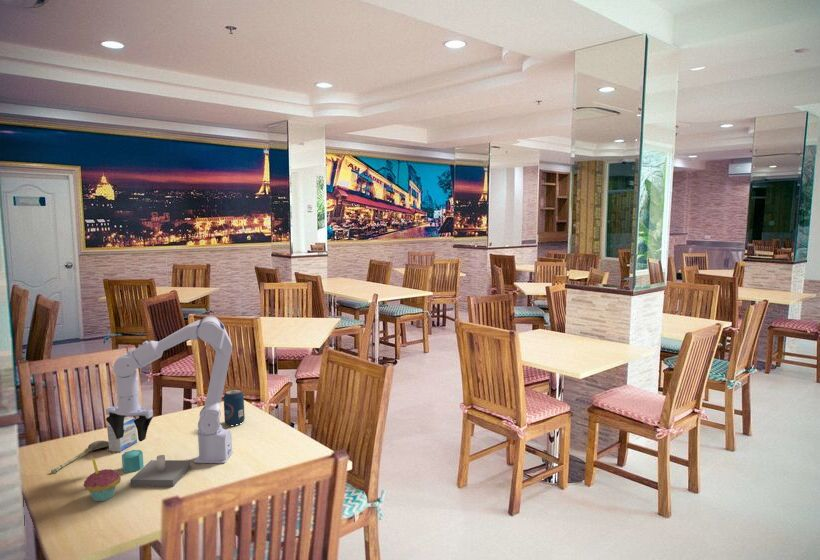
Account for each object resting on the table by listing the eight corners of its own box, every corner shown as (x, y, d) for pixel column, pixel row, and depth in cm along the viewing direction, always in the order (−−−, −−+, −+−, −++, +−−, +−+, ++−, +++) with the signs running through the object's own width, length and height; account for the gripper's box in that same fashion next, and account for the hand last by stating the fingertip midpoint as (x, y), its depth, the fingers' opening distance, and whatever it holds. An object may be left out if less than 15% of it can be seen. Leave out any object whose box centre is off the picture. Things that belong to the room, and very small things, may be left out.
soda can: (220, 424, 196) (219, 392, 195) (235, 418, 202) (234, 387, 201) (233, 428, 193) (232, 395, 191) (248, 421, 199) (247, 390, 197)
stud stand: (191, 466, 164) (189, 447, 163) (173, 486, 152) (172, 466, 151) (151, 466, 164) (150, 447, 163) (130, 486, 152) (129, 466, 151)
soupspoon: (118, 447, 180) (101, 446, 182) (117, 437, 180) (100, 436, 182) (61, 475, 159) (43, 474, 161) (60, 464, 159) (42, 463, 160)
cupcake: (83, 507, 141) (79, 463, 140) (87, 492, 149) (84, 450, 147) (120, 500, 145) (117, 457, 143) (123, 486, 152) (120, 445, 151)
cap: (146, 464, 166) (145, 450, 165) (137, 472, 160) (136, 457, 160) (129, 464, 166) (128, 449, 165) (119, 472, 160) (118, 457, 160)
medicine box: (120, 452, 174) (118, 426, 173) (108, 451, 175) (106, 425, 174) (137, 442, 181) (136, 417, 180) (126, 441, 182) (124, 416, 181)
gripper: (158, 392, 163) (161, 435, 164) (116, 388, 166) (119, 431, 167) (142, 400, 156) (145, 445, 157) (99, 396, 159) (102, 440, 160)
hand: (131, 438), depth 162 cm, fingers open, 7 cm apart
